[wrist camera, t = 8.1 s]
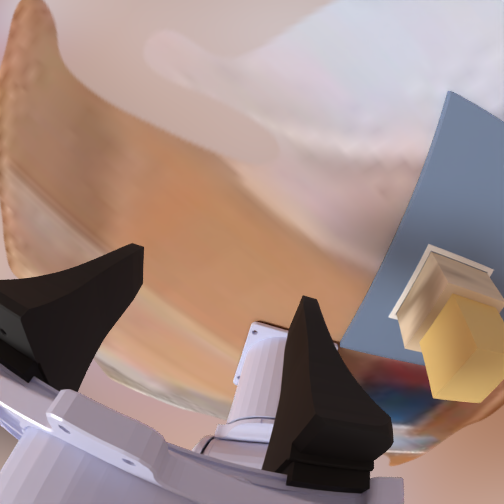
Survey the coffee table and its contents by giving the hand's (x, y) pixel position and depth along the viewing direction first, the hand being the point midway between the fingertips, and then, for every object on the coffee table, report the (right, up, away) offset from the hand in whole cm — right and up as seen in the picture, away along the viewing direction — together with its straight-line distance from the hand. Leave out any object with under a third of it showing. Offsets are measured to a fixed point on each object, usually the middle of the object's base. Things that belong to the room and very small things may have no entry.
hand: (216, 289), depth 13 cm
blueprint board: (+19, +1, +7) cm, 21 cm away
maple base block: (+17, -2, +8) cm, 19 cm away
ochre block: (+16, -4, +5) cm, 17 cm away
